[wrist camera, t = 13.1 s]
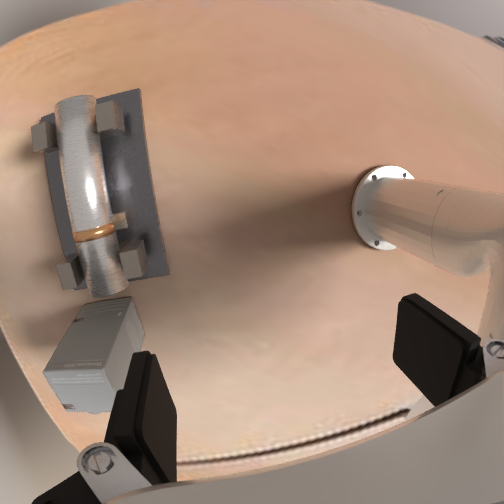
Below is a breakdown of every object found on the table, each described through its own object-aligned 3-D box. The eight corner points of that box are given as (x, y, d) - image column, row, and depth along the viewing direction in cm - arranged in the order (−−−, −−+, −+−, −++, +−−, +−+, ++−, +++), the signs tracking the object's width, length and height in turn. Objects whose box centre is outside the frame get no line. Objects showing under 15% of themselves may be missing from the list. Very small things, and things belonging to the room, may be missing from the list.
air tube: (64, 111, 29) (46, 105, 25) (101, 100, 30) (88, 91, 25) (96, 283, 36) (83, 300, 31) (132, 277, 37) (124, 293, 32)
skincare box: (133, 294, 40) (105, 362, 25) (147, 338, 42) (131, 414, 27) (80, 303, 39) (36, 367, 24) (96, 345, 41) (65, 417, 26)
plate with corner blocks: (140, 90, 33) (128, 74, 26) (169, 271, 40) (164, 294, 33) (44, 118, 31) (17, 111, 24) (77, 287, 38) (57, 310, 31)
